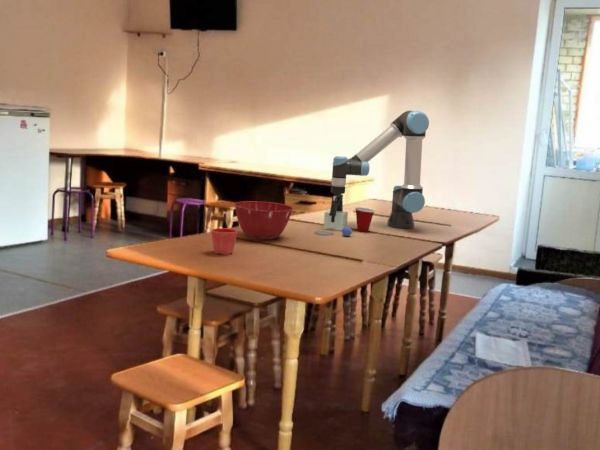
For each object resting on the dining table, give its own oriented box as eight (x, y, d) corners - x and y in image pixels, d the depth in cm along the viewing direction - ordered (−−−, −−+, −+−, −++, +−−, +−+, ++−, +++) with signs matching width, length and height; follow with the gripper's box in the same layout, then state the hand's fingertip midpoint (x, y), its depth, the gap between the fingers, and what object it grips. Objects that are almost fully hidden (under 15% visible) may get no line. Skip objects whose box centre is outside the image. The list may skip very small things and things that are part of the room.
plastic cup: (372, 233, 360) (374, 211, 358) (351, 231, 362) (353, 209, 360) (374, 230, 370) (376, 208, 368) (354, 228, 372) (356, 206, 370)
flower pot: (211, 249, 296) (211, 227, 294) (236, 250, 297) (237, 228, 295) (209, 254, 286) (210, 231, 284) (236, 255, 287) (237, 233, 285)
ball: (352, 236, 349) (353, 226, 348) (350, 237, 344) (350, 227, 344) (342, 234, 351) (343, 225, 350) (340, 236, 346) (341, 226, 345)
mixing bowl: (299, 235, 340) (301, 205, 338) (278, 245, 314) (280, 212, 311) (247, 229, 349) (248, 199, 347) (222, 238, 323) (224, 205, 320)
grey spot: (335, 233, 354) (335, 232, 354) (330, 236, 345) (330, 235, 345) (317, 230, 357) (317, 230, 357) (311, 233, 348) (311, 233, 348)
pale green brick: (346, 227, 372) (348, 211, 370) (342, 230, 362) (343, 214, 361) (328, 225, 375) (329, 209, 373) (323, 228, 365) (324, 212, 364)
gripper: (337, 183, 377) (334, 222, 380) (325, 186, 355) (322, 228, 359) (350, 184, 374) (347, 224, 378) (339, 188, 353) (336, 230, 357)
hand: (335, 226), depth 369 cm, fingers open, 10 cm apart
